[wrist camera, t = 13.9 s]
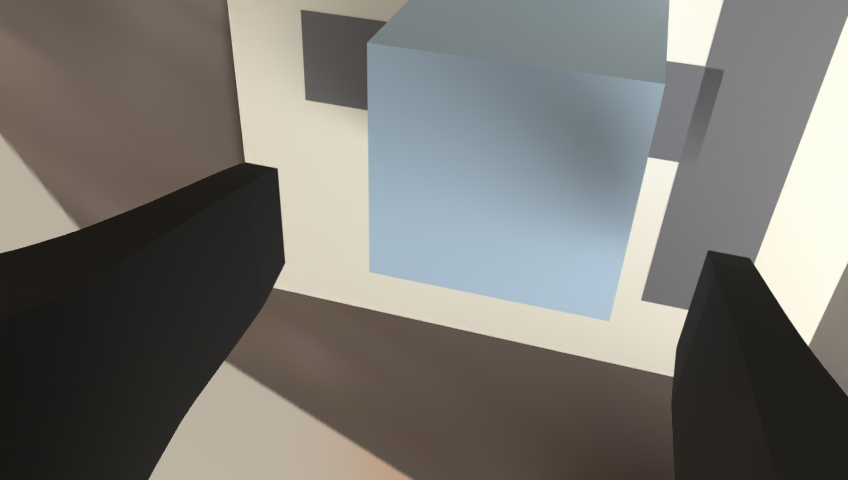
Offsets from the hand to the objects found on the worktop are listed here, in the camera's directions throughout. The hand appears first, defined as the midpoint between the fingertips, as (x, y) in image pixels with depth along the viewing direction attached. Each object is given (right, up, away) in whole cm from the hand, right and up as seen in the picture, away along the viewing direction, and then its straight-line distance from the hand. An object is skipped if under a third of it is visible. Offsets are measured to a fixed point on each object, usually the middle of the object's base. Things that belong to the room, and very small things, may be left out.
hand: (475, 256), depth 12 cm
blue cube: (+2, +4, +5) cm, 7 cm away
